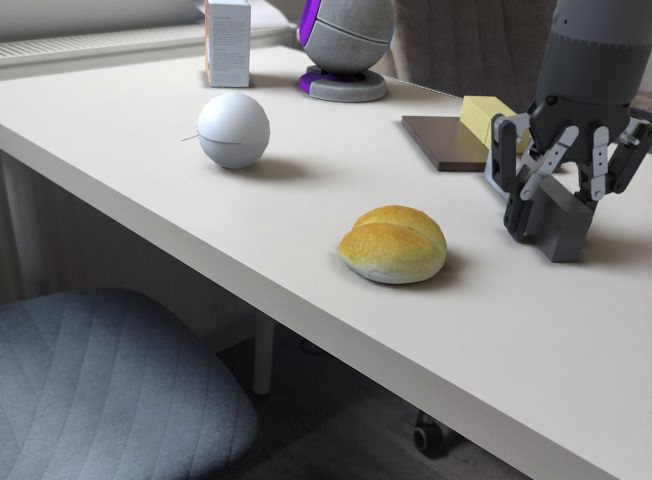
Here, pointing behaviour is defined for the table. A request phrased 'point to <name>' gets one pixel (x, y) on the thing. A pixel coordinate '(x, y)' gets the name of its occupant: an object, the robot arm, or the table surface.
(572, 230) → the knife
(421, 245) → the bread roll
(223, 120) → the seamed sphere
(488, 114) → the butter
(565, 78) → the robot arm
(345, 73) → the webcam
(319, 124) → the table surface
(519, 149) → the butter pat
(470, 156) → the board
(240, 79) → the small box
